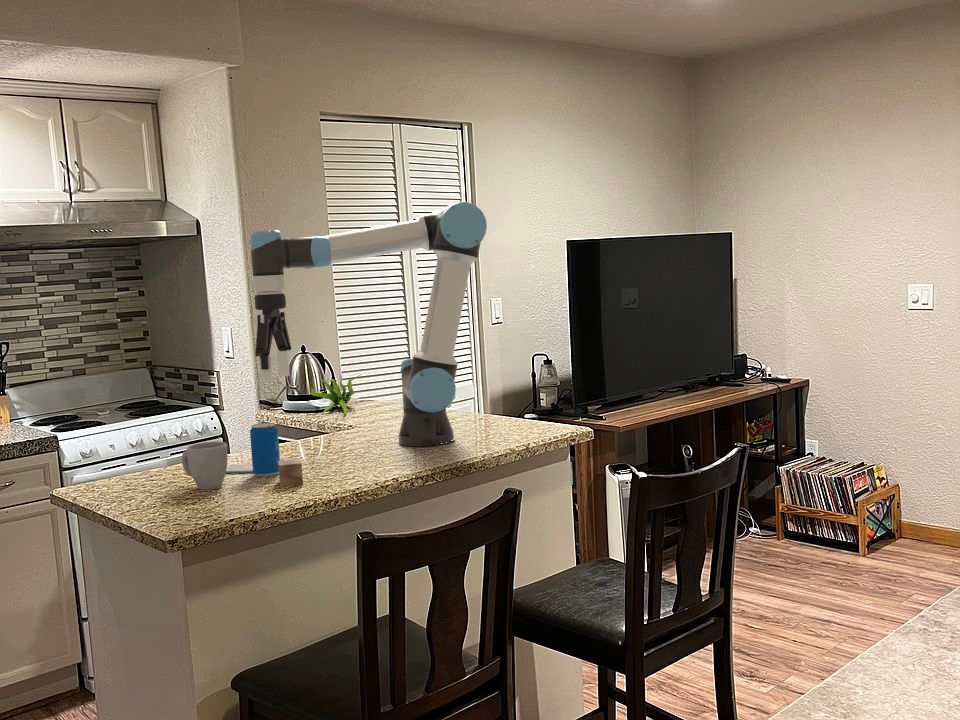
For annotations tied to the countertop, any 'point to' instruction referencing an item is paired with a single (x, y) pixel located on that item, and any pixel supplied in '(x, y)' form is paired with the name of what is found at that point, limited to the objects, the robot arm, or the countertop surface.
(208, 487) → the mug
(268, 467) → the beverage can
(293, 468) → the walnut block
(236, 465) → the tile
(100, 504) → the countertop surface
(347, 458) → the countertop surface
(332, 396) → the decorative plant
